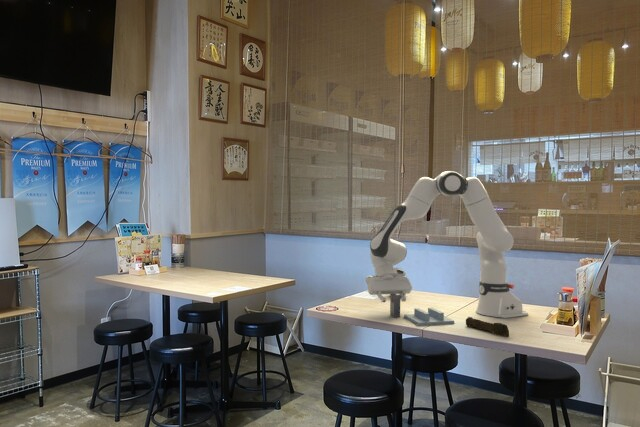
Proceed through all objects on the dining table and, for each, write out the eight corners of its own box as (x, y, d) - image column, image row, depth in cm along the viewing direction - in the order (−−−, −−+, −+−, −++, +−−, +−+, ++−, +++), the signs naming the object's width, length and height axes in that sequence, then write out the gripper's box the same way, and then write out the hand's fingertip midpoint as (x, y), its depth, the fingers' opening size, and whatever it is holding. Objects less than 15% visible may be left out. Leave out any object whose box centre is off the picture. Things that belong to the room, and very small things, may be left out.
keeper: (437, 315, 210) (437, 306, 210) (454, 323, 197) (454, 313, 197) (404, 317, 206) (404, 307, 206) (418, 325, 193) (419, 315, 193)
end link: (396, 315, 211) (396, 292, 210) (400, 317, 207) (400, 294, 207) (390, 315, 210) (390, 292, 210) (393, 317, 206) (394, 294, 206)
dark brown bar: (464, 326, 193) (464, 315, 193) (471, 325, 195) (471, 314, 195) (503, 339, 176) (503, 326, 176) (510, 337, 178) (511, 325, 178)
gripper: (366, 272, 214) (373, 298, 205) (408, 271, 219) (417, 296, 210) (362, 280, 218) (369, 306, 209) (403, 279, 223) (412, 304, 214)
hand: (394, 301), depth 209 cm, fingers open, 8 cm apart
